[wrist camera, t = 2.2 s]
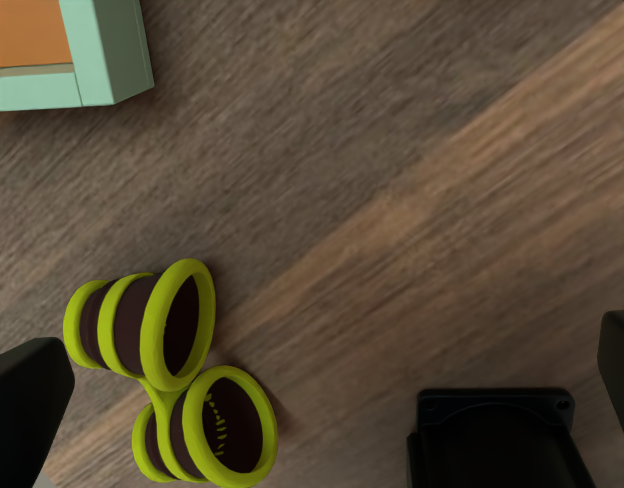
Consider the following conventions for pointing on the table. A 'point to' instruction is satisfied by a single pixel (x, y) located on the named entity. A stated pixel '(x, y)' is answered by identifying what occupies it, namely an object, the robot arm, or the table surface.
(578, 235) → the table surface
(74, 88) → the mount tray
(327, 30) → the table surface
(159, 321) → the opera glasses
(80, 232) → the table surface
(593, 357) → the table surface
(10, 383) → the robot arm
